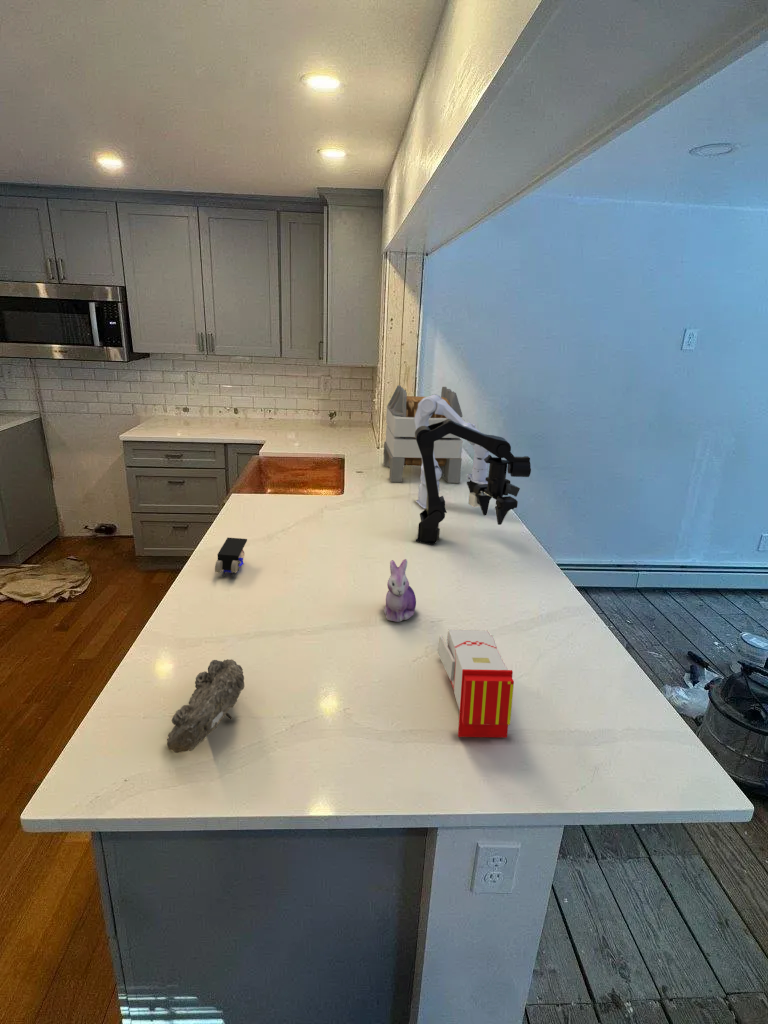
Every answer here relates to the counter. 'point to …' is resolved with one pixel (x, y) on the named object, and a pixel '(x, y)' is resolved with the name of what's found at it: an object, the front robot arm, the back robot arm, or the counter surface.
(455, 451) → the grey wooden planter box
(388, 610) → the figurine
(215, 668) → the fossil
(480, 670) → the toy
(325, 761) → the counter surface
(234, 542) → the figurine character
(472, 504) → the light grey cube-like block
